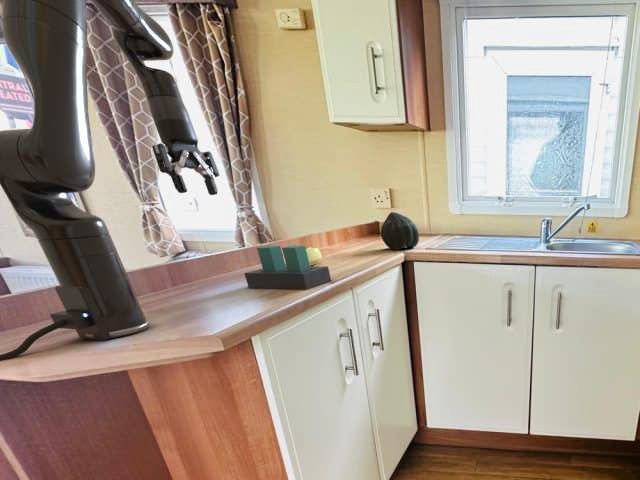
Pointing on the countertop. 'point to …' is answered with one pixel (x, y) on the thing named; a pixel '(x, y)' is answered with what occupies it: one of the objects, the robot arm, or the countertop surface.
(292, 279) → the mount
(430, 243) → the countertop surface
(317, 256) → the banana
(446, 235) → the countertop surface
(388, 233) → the squash
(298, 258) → the block
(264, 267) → the green block
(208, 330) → the countertop surface
